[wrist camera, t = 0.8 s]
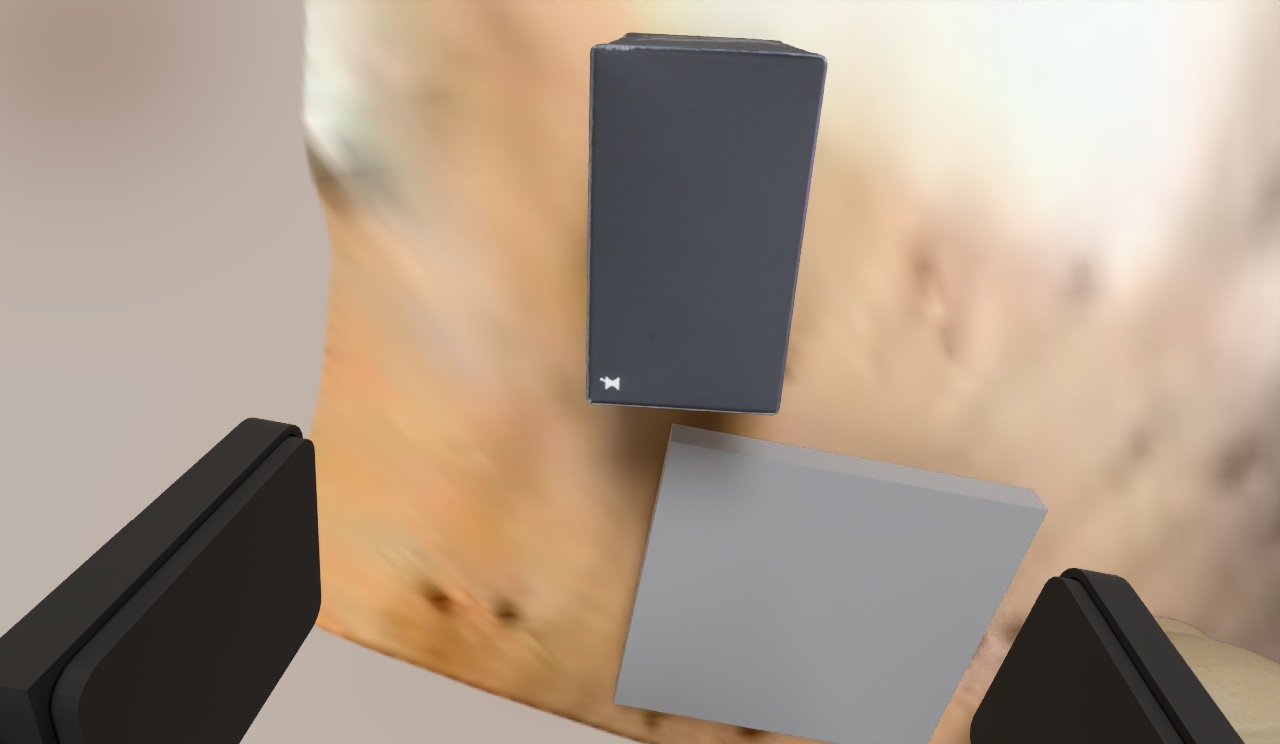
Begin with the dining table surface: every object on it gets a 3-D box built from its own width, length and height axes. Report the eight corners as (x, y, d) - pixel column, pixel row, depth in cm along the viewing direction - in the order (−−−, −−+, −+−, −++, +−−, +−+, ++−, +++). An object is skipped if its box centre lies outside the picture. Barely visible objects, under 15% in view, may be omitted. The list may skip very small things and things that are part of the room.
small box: (762, 304, 32) (787, 426, 23) (613, 295, 33) (576, 412, 23) (794, 37, 28) (842, 54, 18) (619, 30, 28) (577, 42, 19)
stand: (1011, 458, 35) (1047, 510, 31) (901, 694, 42) (920, 758, 38) (674, 396, 35) (671, 441, 31) (620, 643, 42) (613, 703, 38)
